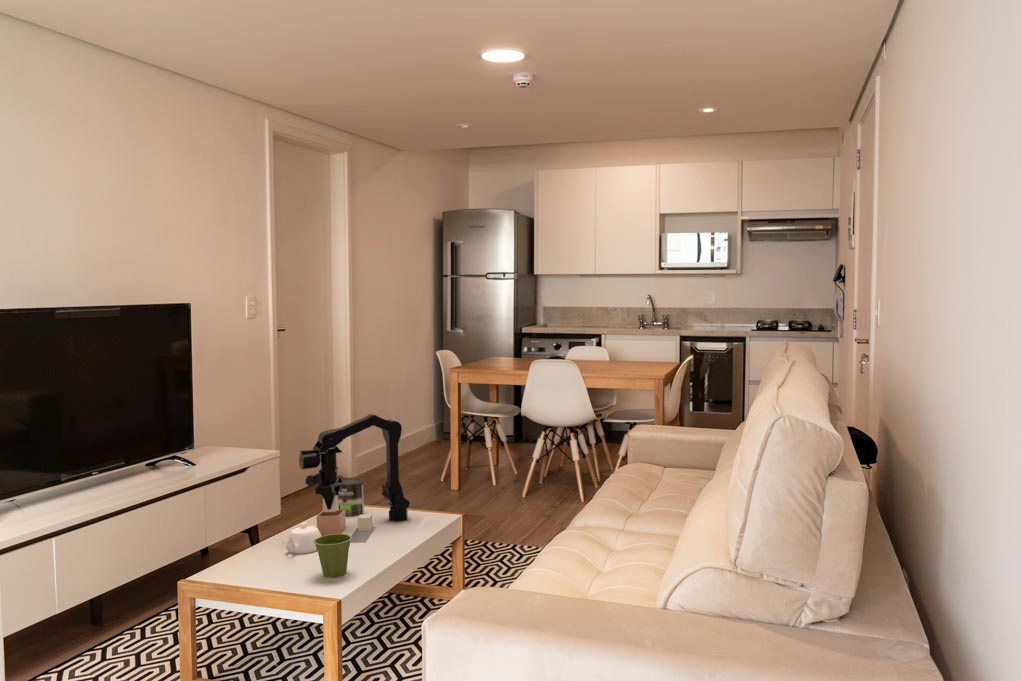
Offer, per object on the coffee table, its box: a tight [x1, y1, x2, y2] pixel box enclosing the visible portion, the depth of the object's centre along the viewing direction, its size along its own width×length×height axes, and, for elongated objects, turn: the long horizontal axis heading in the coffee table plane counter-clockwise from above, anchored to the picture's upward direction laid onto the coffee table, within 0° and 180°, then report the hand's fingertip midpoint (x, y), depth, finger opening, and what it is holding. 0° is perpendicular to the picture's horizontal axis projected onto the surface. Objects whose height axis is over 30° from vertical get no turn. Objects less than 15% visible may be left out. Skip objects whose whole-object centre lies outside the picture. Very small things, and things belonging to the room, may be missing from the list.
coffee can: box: [336, 478, 365, 518], centre depth 320 cm, size 10×10×14 cm
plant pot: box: [313, 533, 352, 578], centre depth 251 cm, size 12×12×11 cm
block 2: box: [356, 513, 374, 531], centre depth 296 cm, size 4×4×5 cm
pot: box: [316, 509, 347, 536], centre depth 295 cm, size 8×8×8 cm
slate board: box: [350, 526, 377, 544], centre depth 290 cm, size 7×20×1 cm, turn 179°
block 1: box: [322, 495, 339, 512], centre depth 295 cm, size 4×4×5 cm
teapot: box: [285, 522, 322, 555], centre depth 274 cm, size 20×12×10 cm, turn 168°
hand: (330, 507), depth 295 cm, fingers closed on block 1, 4 cm apart
